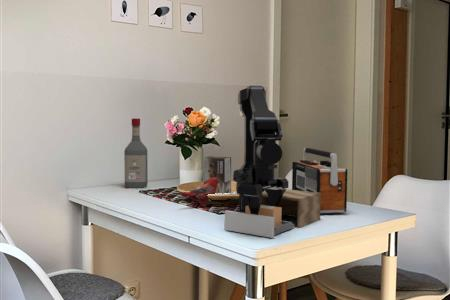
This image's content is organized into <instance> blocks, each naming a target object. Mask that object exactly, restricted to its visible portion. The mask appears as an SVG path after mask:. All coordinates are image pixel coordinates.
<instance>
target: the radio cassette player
mask: <svg viewBox="0 0 450 300" xmlns="http://www.w3.org/2000/svg"><path fill="white" fill-rule="evenodd" d="M302 154H303V155H302V159H301V160H299V161H292V167H291V169H292V171H291V172H292V175H291V190H299V191H308V192H318V193H321V200H320V215H322V214H338V215H340V214H342V213H346V212H347V203H348V199H347V198H348V169H347V168H344V167H339V166H338V155H337V153H335V152H330V151H325V150H321V149H316V148H312V147H304V148H303V153H302ZM309 154H311V155H316V156H320V157H324V158H329V159H331V162H330V161H329V160H320V161H318V160H309Z"/></svg>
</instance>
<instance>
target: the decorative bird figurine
mask: <svg viewBox="0 0 450 300" xmlns="http://www.w3.org/2000/svg"><path fill="white" fill-rule="evenodd" d="M218 183H219V182H218V180H217V178H216V177H212V178H211V179H209V180H208V181H207V182H206V183H205V184H204V183H203V184H202V185H200V186H198V187H195V188H194V189H191V190H190V191H177V193H179V194H182V195H185V196H187V197H189V198H190V199H191V200H192V201H196V202H198V203H199V205H198V207H207V206H210V205H211V204H210V203H205V202H208V201H211V200H210V198H208V196H207V195H208V194H215V191H216V188H217V185H218Z"/></svg>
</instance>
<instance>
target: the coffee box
mask: <svg viewBox="0 0 450 300" xmlns="http://www.w3.org/2000/svg"><path fill="white" fill-rule="evenodd" d="M202 162H203V163H202V164H203V167H202V170H203V171H202V172H203V175H202V176H203V179H202V180H203V182H202V183H203V185H204V184H205V183H206V182H207V181H208V180H209V179H211V178H212V177H216V178H217V180H218V182H219V183H218V185H217V188H216V191H215V193H231V194H232V157H231V156H214V155H213V156H211V155H210V156H206V157H203V158H202Z"/></svg>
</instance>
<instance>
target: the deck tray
mask: <svg viewBox="0 0 450 300" xmlns="http://www.w3.org/2000/svg"><path fill="white" fill-rule="evenodd" d="M294 228H295V223H293V221H288V220H282V219H281V225H280V226H277V227H274V217H269V216H262V215H255V214H248V213H244V212H237V211H234V210H227V209H226V210H224V230H226V231H230V232H237V233H240V234H241V233H242V234H248V235H253V236H260V237H266V238H270V239H274V238H275V236H277V235H279V234H281V233H284V232H286V231H288V230H291V229H294Z"/></svg>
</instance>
